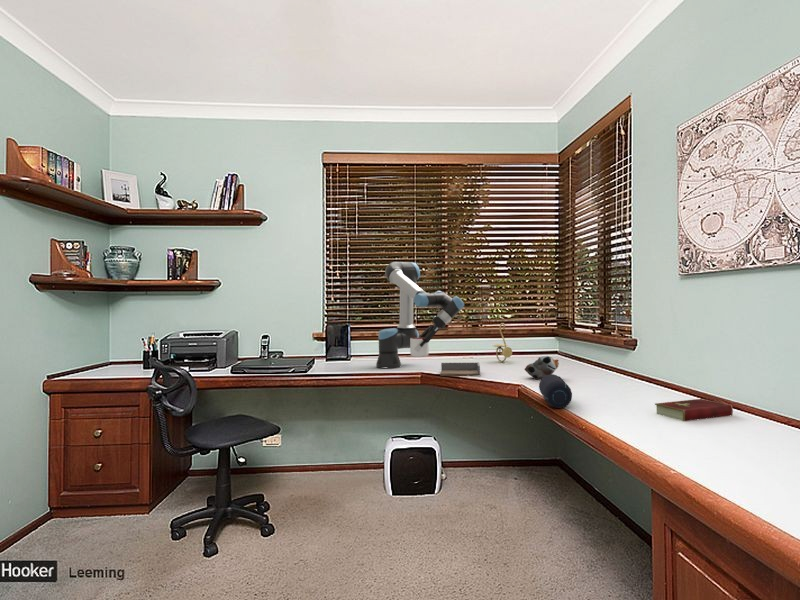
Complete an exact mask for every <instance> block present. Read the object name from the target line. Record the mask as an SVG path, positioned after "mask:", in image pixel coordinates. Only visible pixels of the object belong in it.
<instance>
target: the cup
mask: <svg viewBox="0 0 800 600" xmlns="http://www.w3.org/2000/svg"><path fill="white" fill-rule="evenodd" d="M422 338H423V337H418V338H410V348H409V350H410V351H409V353H410V356H411V357H413V358H426V357H428V356H429V355H430V354H429V353H430V352H429V350H430V349H429V342H427V343H426V344H425V345H424V346H423V347H422V348H421V349H420V350H419V351H418V352H417V351H416V350H415V349H414V348H415V347H416V346H417V345H418V344H419V343H420V342H421V340H422Z"/></svg>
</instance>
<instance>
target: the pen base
mask: <svg viewBox="0 0 800 600" xmlns="http://www.w3.org/2000/svg"><path fill="white" fill-rule="evenodd" d="M467 375H480V376H481V373H480V374H478V370H441V371H440V374H439V376H440V377H468V376H467Z"/></svg>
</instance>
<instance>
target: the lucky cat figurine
mask: <svg viewBox="0 0 800 600" xmlns="http://www.w3.org/2000/svg"><path fill="white" fill-rule="evenodd" d="M559 365H560V363H559V359H554V358H553V357H551V356H548V355H546V356H539V357H538V358H537V359H535V361H534V362H531V363H528V364H527V365H526V366H525V368H524V371H525V372H526V373H527V374H528V375H529V376H530V377H532V378H535V379H536V380H538V379H542V378H543V377H544V376H546V375H549V374H555V371H556V370H557V369H558V368H559Z"/></svg>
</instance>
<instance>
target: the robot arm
mask: <svg viewBox="0 0 800 600" xmlns="http://www.w3.org/2000/svg"><path fill="white" fill-rule="evenodd" d="M384 274H385V277H386V279H387V281H389V282H390V283H391V284H394V285H396V286H397V287H398V288H399V324H398V325H397V327H393V328H392V327H391V328H384V329H380V330H379V332H378V357H377V360H376V363H375V364H376V365H375V366H377V367H388V368H387V369H395V368H394V367H398V368H401V367H402V362H401V360H400V357H399V353H398V351H399V349H400V350H401V349H410V338H418V337H423V338H422V340H421V342H420V343H419V344H418V345H417V346H416V347H415V348H414V349H415V350H416V351H417V352H418V351H419V350H420V349H421V348H422V347H423V346H424V345H425V344H426V343H427V342H428V343H429V342H430V341H431V340H432V338H433V337H434V336H435V335H436V334H437V332H439V331H440V330H443V329H444V328H445V327H446V326H447V325H446V324H449V323H451V321H452V320H453V318H455V316H456V315H457V314H458V313H459V312H460V311H461V310H462V309H463V308H464V306H465V302H464V301H463V300H462V299H461V298H460V297H459V296H457V295H455V296H454V297H451V296H449V295H448V294H446V293H445V292H443V291H442V290H437V291H435V292H433V293H428V292H426V290H424V289H422V288H421V287H419V285H418V284H417V281H418V280H419V279H420V277H421V271H420V267H419V265H418V264H417V263H415V262H411V261H392V262H390V263H388V264H387V265H386V267H385V271H384ZM414 305H415V307H417V308H435V307H436V308H439V307H440V308H442V309H441V310H440V311H439V312H438V313H437V315H435V317H434V318H433V319H432V323H433V324H430V325H429V326H428V327H427V328H426V329H425V330H424V331H423V332H421V334H420V333H419V331H418V329H416V326H415V324H414ZM400 366H401V367H400ZM377 367H376V368H377Z"/></svg>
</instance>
